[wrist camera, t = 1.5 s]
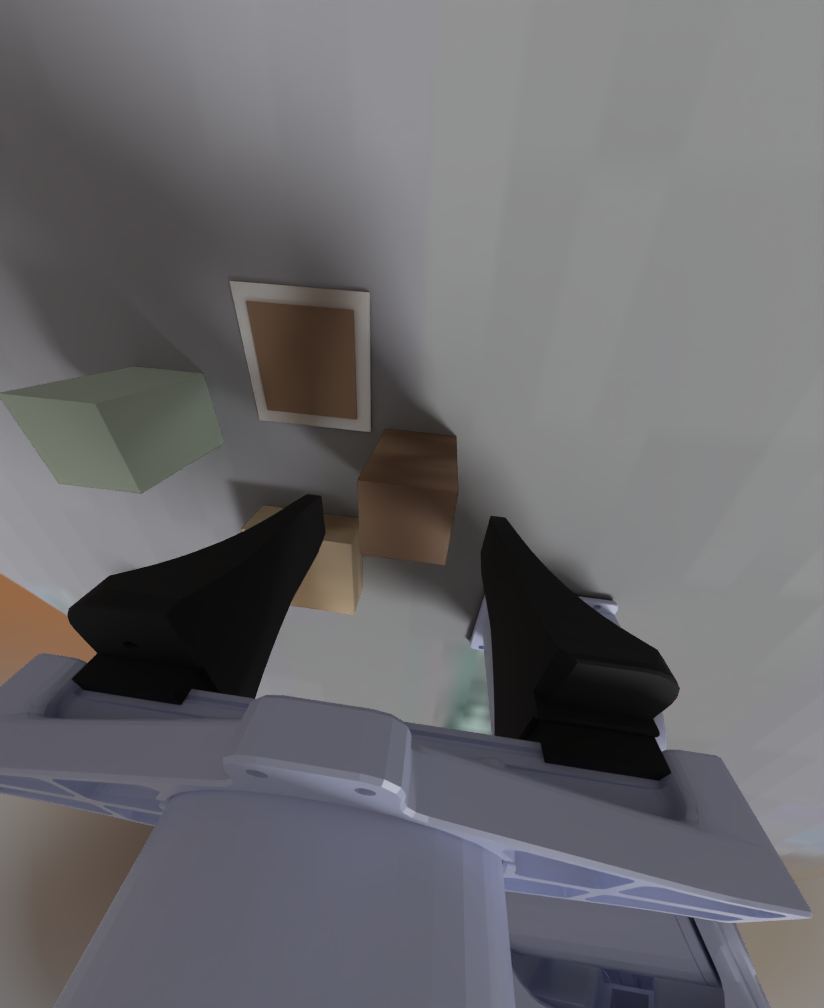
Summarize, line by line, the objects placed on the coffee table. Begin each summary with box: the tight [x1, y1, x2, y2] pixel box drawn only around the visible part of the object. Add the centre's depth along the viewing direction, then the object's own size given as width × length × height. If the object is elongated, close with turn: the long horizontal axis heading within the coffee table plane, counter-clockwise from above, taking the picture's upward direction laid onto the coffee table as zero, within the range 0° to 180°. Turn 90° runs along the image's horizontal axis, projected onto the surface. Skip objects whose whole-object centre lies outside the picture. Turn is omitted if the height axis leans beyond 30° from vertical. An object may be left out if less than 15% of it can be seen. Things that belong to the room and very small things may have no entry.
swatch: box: [229, 281, 371, 432], centre depth 15 cm, size 6×6×1 cm
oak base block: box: [241, 505, 363, 615], centre depth 22 cm, size 7×7×3 cm
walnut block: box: [357, 429, 458, 565], centre depth 15 cm, size 4×4×6 cm
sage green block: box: [0, 366, 224, 494], centre depth 15 cm, size 4×4×6 cm
